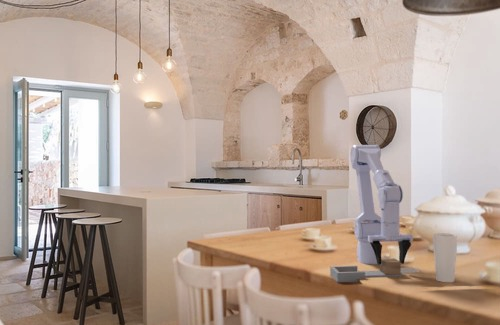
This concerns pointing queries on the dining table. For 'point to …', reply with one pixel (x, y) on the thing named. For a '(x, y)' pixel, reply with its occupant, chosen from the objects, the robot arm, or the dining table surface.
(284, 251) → the dining table surface
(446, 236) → the drinking glass
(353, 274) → the grey square pan
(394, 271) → the block
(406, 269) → the plate
